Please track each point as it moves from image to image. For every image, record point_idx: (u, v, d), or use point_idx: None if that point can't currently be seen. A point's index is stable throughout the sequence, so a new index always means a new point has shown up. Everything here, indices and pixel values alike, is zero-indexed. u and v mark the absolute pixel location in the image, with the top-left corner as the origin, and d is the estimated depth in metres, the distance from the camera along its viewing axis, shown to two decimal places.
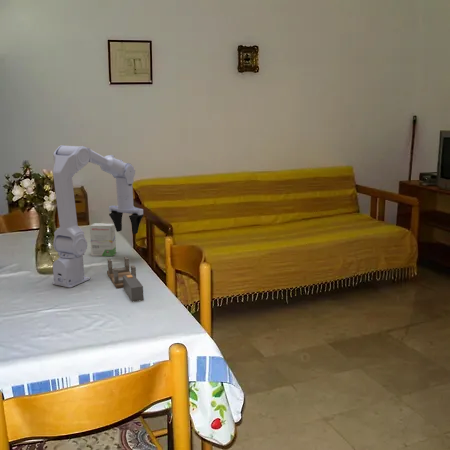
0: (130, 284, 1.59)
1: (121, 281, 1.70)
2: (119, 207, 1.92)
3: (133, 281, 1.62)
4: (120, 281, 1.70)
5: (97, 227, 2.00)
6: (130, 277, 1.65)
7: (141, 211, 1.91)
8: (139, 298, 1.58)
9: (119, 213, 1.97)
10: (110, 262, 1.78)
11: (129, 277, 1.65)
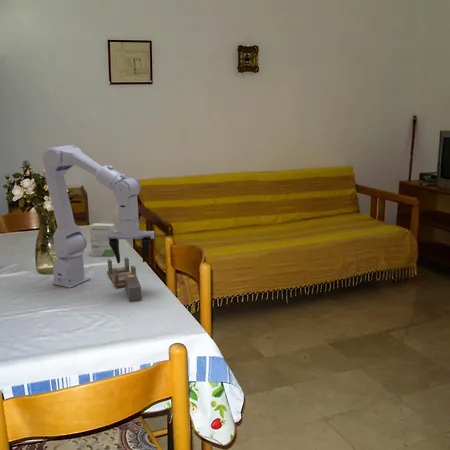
0: (129, 284, 1.59)
1: (121, 281, 1.70)
2: (127, 233, 1.58)
3: (133, 281, 1.62)
4: (120, 281, 1.70)
5: (97, 227, 2.00)
6: (131, 277, 1.65)
7: (153, 233, 1.62)
8: (137, 298, 1.58)
9: (118, 240, 1.62)
10: (110, 262, 1.78)
11: (130, 277, 1.65)
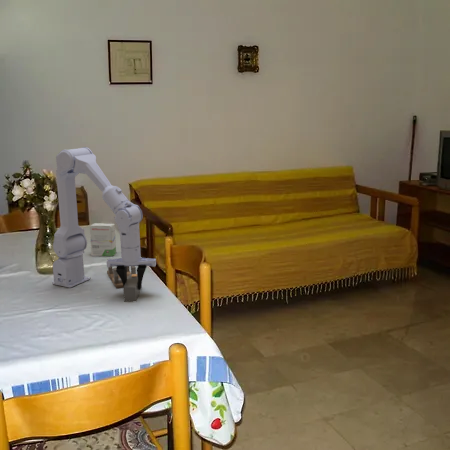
0: (126, 283, 1.59)
1: (121, 281, 1.70)
2: (127, 260, 1.58)
3: (132, 281, 1.62)
4: (120, 281, 1.70)
5: (97, 227, 2.00)
6: (134, 276, 1.65)
7: (155, 261, 1.61)
8: (131, 299, 1.57)
9: (125, 267, 1.62)
10: None
11: (133, 276, 1.65)
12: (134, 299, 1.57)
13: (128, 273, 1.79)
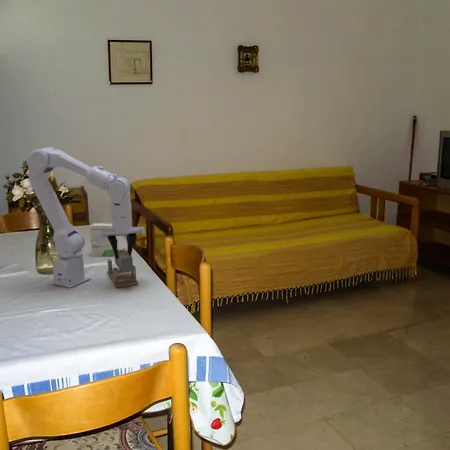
0: (120, 255, 1.67)
1: (121, 281, 1.70)
2: (121, 229, 1.66)
3: (123, 253, 1.70)
4: (120, 281, 1.70)
5: (97, 227, 2.00)
6: (121, 250, 1.73)
7: None
8: (129, 269, 1.66)
9: None
10: (110, 262, 1.78)
11: (120, 250, 1.73)
12: (131, 269, 1.66)
13: (128, 273, 1.79)
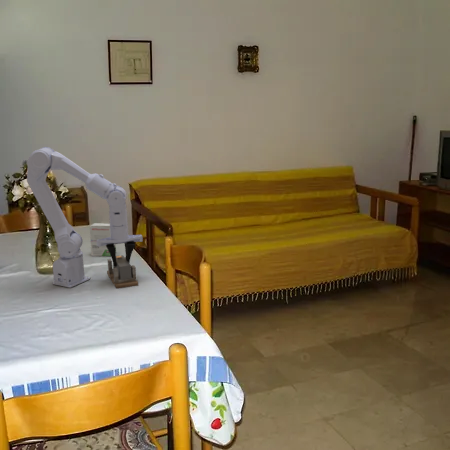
0: (119, 263, 1.72)
1: (121, 281, 1.70)
2: (119, 238, 1.71)
3: (122, 261, 1.74)
4: (120, 281, 1.70)
5: (97, 227, 2.00)
6: (119, 257, 1.77)
7: None
8: (127, 276, 1.70)
9: None
10: (110, 262, 1.78)
11: (118, 257, 1.77)
12: (130, 276, 1.71)
13: None
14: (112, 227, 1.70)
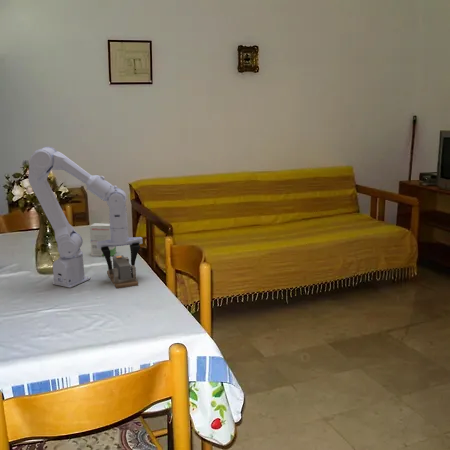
0: (119, 263, 1.72)
1: (121, 281, 1.70)
2: (119, 240, 1.71)
3: (122, 261, 1.74)
4: (120, 281, 1.70)
5: (97, 227, 2.00)
6: (119, 257, 1.77)
7: None
8: (127, 276, 1.70)
9: None
10: None
11: (118, 257, 1.77)
12: (130, 276, 1.71)
13: None
14: (112, 229, 1.70)
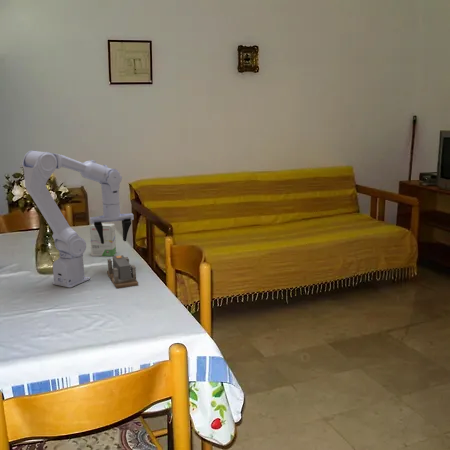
0: (119, 263, 1.72)
1: (121, 281, 1.70)
2: (111, 216, 1.80)
3: (122, 261, 1.74)
4: (120, 281, 1.70)
5: None
6: (119, 257, 1.77)
7: None
8: (127, 276, 1.70)
9: None
10: (110, 262, 1.78)
11: (118, 257, 1.77)
12: (130, 276, 1.71)
13: None
14: (105, 205, 1.79)
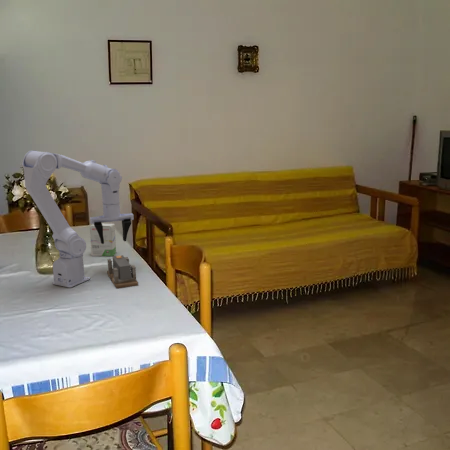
0: (119, 263, 1.72)
1: (121, 281, 1.70)
2: (111, 216, 1.80)
3: (122, 261, 1.74)
4: (120, 281, 1.70)
5: None
6: (119, 257, 1.77)
7: None
8: (127, 276, 1.70)
9: None
10: (110, 262, 1.78)
11: (118, 257, 1.77)
12: (130, 276, 1.71)
13: None
14: (105, 205, 1.79)
